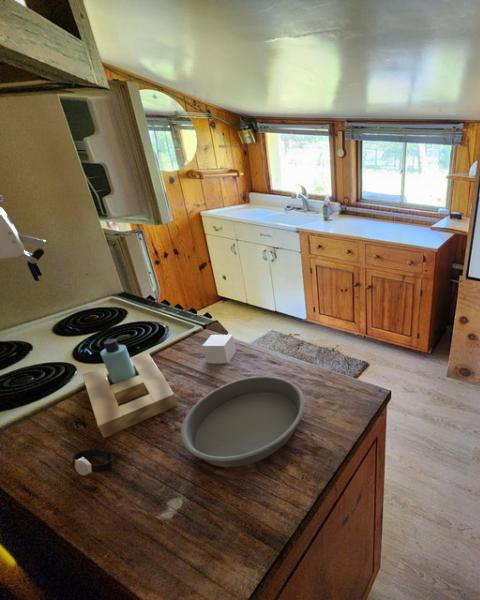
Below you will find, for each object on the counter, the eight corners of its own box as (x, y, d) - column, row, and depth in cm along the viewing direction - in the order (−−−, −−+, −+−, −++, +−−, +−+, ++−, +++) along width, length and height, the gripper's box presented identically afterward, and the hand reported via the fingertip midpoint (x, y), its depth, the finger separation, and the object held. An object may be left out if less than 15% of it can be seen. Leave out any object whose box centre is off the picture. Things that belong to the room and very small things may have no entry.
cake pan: (162, 482, 60) (155, 466, 58) (211, 393, 82) (207, 378, 80) (298, 468, 64) (296, 452, 62) (310, 386, 86) (309, 372, 84)
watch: (66, 471, 61) (59, 458, 60) (93, 451, 66) (86, 438, 64) (99, 481, 60) (92, 467, 58) (124, 459, 64) (118, 446, 63)
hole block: (103, 438, 69) (97, 425, 67) (87, 385, 83) (82, 374, 81) (178, 405, 78) (174, 394, 76) (151, 363, 92) (148, 352, 91)
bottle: (117, 394, 80) (98, 349, 75) (113, 385, 83) (95, 341, 77) (141, 385, 83) (124, 341, 78) (136, 377, 86) (120, 333, 81)
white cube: (206, 363, 93) (201, 345, 91) (215, 351, 98) (211, 334, 96) (227, 363, 93) (223, 345, 91) (236, 351, 99) (232, 334, 96)
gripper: (27, 197, 70) (59, 271, 78) (-112, 203, 59) (-59, 290, 66) (29, 201, 66) (62, 280, 73) (-122, 209, 54) (-64, 302, 61)
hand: (5, 284), depth 69 cm, fingers open, 9 cm apart
